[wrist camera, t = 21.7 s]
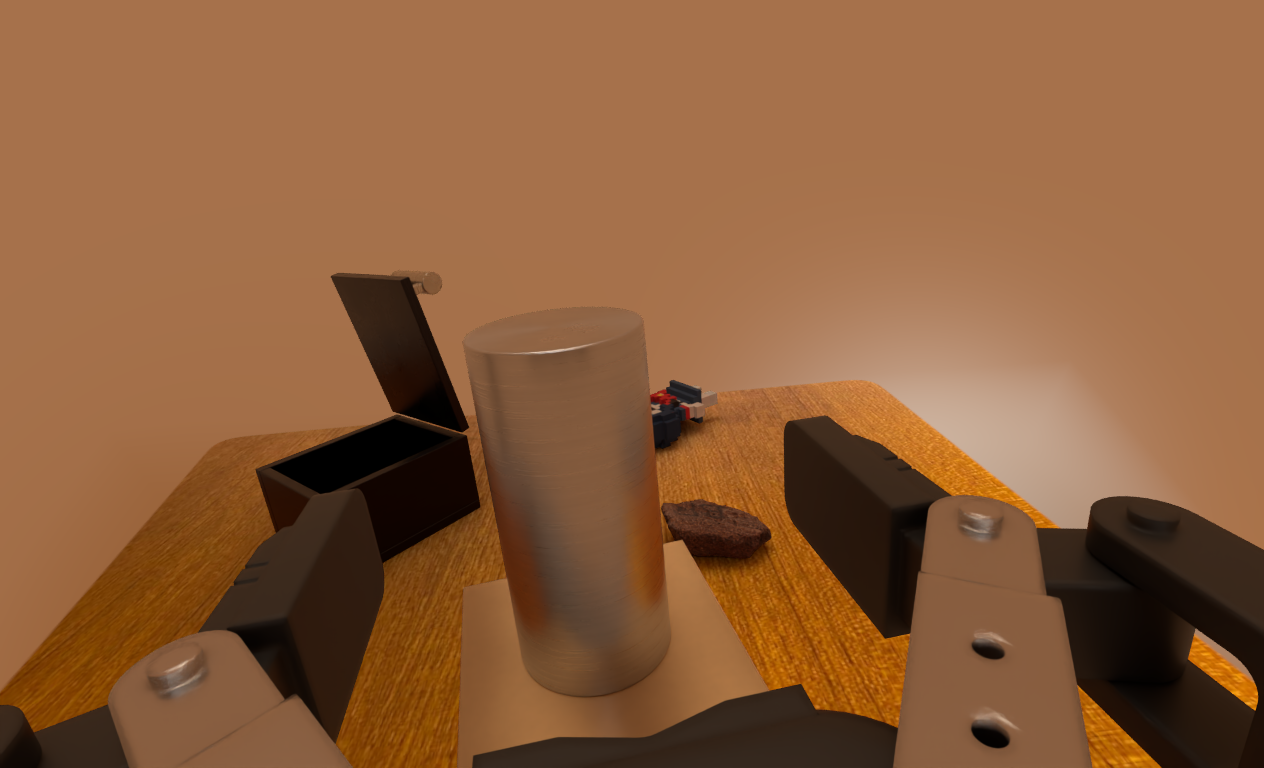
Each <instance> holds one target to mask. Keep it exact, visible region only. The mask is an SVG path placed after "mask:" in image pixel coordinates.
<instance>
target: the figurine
mask: <svg viewBox="0 0 1264 768" xmlns="http://www.w3.org/2000/svg"><path fill="white" fill-rule="evenodd" d="M650 400H651V412H652V423H653V434H654V446H655V448H658V447H660V448H662V449H663V448H665V447H668V446H670V445H671V442H673V441H676V440H678V439H677V437H678V436H680V433H681V423H680V421H685V420H687V419H690V420H692V421H694V422H697V423H702V422H703V416H705V408H707V407H709V406H712V405H715V404H717V393H716V392H712V391H708V392H705V393H703V394H701V387H698V386H689V385H686V384H683V383H680V382H677V381H675V380H672V381H670V387H667V388H666V390H662V391H658V392H657V393H655V394H652V395H650Z"/></svg>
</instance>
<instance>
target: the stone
mask: <svg viewBox="0 0 1264 768" xmlns="http://www.w3.org/2000/svg"><path fill="white" fill-rule="evenodd" d="M661 510H662V513H663V515H664V517H665V519H666V522H667V524H668V528H669V530H670V531H671V533H672V535H673V537H674V541H679V540H683V542H684V543H685V545H686V547H687V549H688V550H689V552H690V553H691V554H694V555H696V556H708V555H710V556H714V555H718V556H724V557H734V558H744V557H745V558H750V556H751V555H752V554H753V552H754V551H755V550H756V549H758V548H759V547H760V546H761V545H762V544H764V543H765V542H767V541H768V540H770V539H771V533H770V530H769V529H768V527H767V526H766V525H765V524H763V523H762V522H761V521H759V519H758V518H757V517H754V516H751V515H750V514H749V513H746V512H744V511H741V510H738V509H735V508H731V507H727V506H726V505H724V506H721V505H717V504H716V503H712V502H707V501H705V500H703V499H699V500H694V501H690V502H682V503H680V504H673V503H663V505H662V507H661Z"/></svg>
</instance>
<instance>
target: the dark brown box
mask: <svg viewBox="0 0 1264 768" xmlns="http://www.w3.org/2000/svg"><path fill="white" fill-rule="evenodd" d="M256 473H257V476H258V479H259V482H260V485H261V488H262V491H263V495H264V498H265V501H266V504H267V507H268V510H269V513H270V516H271V519H272V522H273V525H274V529H275V532H276V533H277V532H278V531H279V530H281V529H282V528H283V527H289V526H293V525H294V523H295V522H296V520H297V519H298V517H299V515H300V514H301V512H302V511H303V509H304V508H305V506H306V505H307V503H308V502H309V500H310V499H311V497H312V496H314V495H318V494H324V493H331V492H337V491H343V490H350V489H356V488H358V489H360V490H361V491H362V493H363V495H364V497H365V500H366V503H367V507H368V511H369V514H370V518H371V522H372V526H373V530H374V533H375V537H376V541H377V545H378V549H379V552H380V556H381V560H382V562H384V561H386V560H387V559H389V558H391V557H393V556H394V555H396V554H398V553H400V552H401V551H403V550H405V549H407V548H409V547H410V546H412V545H414V544H416V543H417V542H419V541H421V540H423V539H424V538H426V537H428V536H430V535H431V534H433V533H435V532H437V531H438V530H440V529H442V528H444V527H446V526H447V525H449V524H451V523H453V522H454V521H456V520H458V519H460V518H461V517H463V516H465V515H467V514H468V513H470V512H472V511H474V510H475V509H477V508H479V507H480V502H479V496H478V491H477V486H476V480H475V475H474V470H473V465H472V460H471V455H470V450H469V445H468V440H467V436H466V435H463V434H460V433H456V432H453V431H450V430H446V429H443V428H440V427H437V426H433V425H430V424H427V423H423V422H420V421H417V420H414V419H410V418H407V417H404V416H401V415H394V416H392V417H389V418H387V419H384V420H382V421H379V422H377V423H374V424H371V425H369V426H366V427H363V428H361V429H358V430H356V431H353V432H350V433H348V434H345V435H343V436H340V437H338V438H335V439H332V440H330V441H327V442H325V443H322V444H319V445H317V446H314V447H312V448H309V449H307V450H304V451H301V452H299V453H296V454H294V455H291V456H288V457H286V458H283V459H281V460H278V461H275V462H273V463H270V464H268V465H265V466H263V467H260V468H257V469H256Z"/></svg>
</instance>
